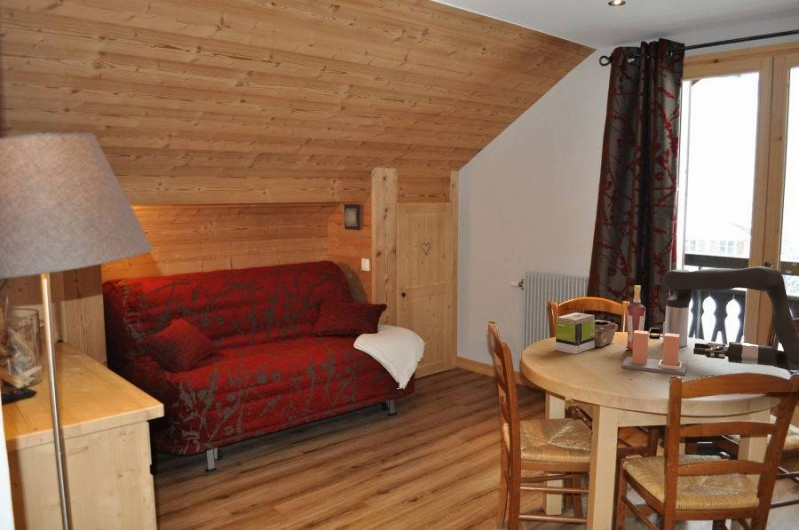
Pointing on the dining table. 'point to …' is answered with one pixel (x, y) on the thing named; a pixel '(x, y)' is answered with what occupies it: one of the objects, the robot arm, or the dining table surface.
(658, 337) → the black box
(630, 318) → the liquor
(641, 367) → the charcoal board
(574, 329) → the tea box
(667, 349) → the terracotta block
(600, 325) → the grey textured container
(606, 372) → the dining table surface
